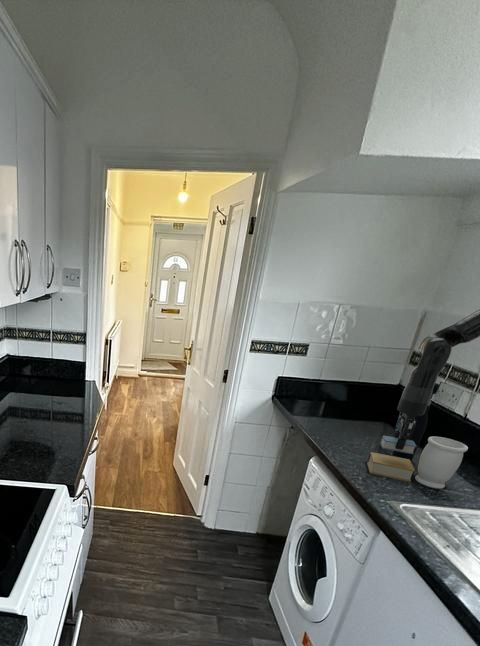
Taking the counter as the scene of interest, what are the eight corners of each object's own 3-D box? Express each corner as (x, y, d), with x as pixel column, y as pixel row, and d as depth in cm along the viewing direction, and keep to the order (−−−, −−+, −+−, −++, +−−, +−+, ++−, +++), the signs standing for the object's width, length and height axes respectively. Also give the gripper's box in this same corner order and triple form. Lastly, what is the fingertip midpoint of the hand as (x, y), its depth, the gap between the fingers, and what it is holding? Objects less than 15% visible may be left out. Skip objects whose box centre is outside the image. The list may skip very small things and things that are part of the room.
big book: (405, 470, 148) (409, 459, 146) (410, 481, 140) (415, 470, 138) (366, 462, 153) (370, 451, 151) (369, 473, 145) (373, 461, 143)
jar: (453, 493, 134) (474, 452, 127) (416, 486, 137) (435, 445, 130) (441, 479, 143) (460, 439, 137) (406, 472, 146) (423, 433, 140)
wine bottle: (413, 461, 156) (447, 385, 143) (406, 465, 152) (440, 387, 140) (395, 455, 160) (426, 380, 148) (387, 458, 157) (418, 382, 144)
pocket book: (410, 448, 143) (413, 440, 142) (413, 454, 139) (416, 446, 137) (380, 443, 147) (382, 435, 146) (382, 448, 142) (385, 440, 141)
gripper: (434, 406, 128) (414, 455, 135) (424, 395, 140) (406, 441, 147) (405, 402, 131) (387, 450, 138) (398, 392, 143) (381, 437, 150)
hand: (397, 445), depth 142 cm, fingers closed on pocket book, 5 cm apart
